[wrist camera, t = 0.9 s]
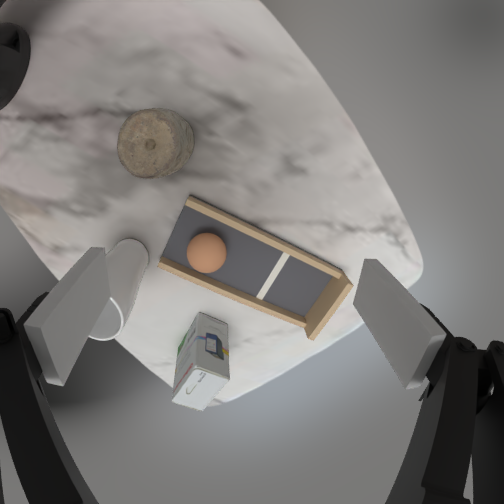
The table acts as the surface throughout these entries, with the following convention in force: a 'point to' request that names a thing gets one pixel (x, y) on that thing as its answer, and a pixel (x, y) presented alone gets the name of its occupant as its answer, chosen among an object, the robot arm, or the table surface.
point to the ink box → (201, 363)
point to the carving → (154, 143)
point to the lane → (258, 268)
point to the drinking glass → (121, 287)
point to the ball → (206, 252)
